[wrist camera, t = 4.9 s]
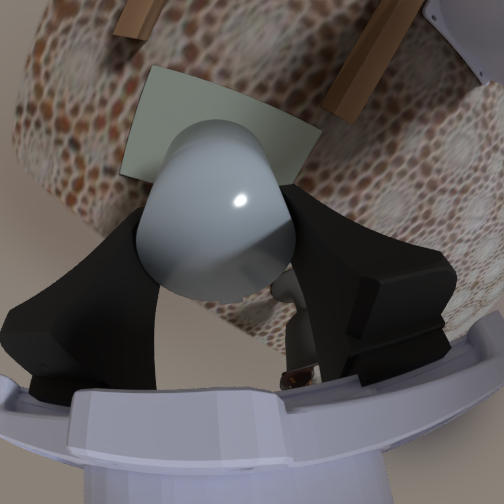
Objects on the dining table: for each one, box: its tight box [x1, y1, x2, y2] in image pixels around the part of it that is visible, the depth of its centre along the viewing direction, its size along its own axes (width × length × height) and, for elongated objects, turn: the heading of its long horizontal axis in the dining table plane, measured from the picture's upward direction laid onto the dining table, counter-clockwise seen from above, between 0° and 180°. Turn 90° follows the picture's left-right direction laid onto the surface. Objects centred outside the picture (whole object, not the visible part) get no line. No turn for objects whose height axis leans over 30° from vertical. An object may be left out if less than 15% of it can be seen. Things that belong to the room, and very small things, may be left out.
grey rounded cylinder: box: [136, 119, 296, 305], centre depth 11 cm, size 7×5×6 cm
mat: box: [120, 65, 322, 186], centre depth 17 cm, size 12×8×1 cm, turn 65°
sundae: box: [271, 269, 322, 391], centre depth 22 cm, size 7×7×15 cm
